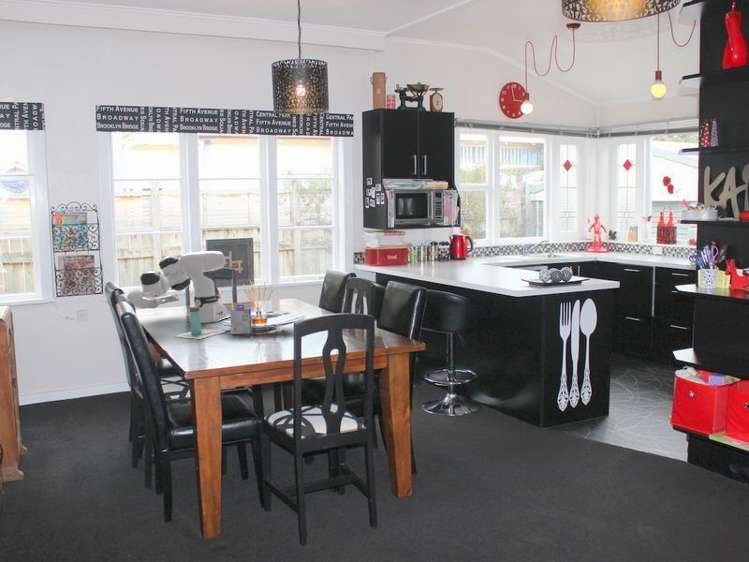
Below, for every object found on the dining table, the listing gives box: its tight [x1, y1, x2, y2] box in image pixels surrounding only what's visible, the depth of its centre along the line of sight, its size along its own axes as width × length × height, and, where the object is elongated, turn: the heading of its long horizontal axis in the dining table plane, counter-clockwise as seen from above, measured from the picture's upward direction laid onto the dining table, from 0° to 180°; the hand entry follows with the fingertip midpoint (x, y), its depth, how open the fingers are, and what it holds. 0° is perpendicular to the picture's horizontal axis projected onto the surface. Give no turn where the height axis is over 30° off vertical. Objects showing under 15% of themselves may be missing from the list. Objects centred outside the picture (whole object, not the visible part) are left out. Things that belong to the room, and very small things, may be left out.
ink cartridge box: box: [229, 304, 253, 335], centre depth 370 cm, size 10×6×14 cm, turn 90°
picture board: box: [174, 328, 226, 340], centre depth 370 cm, size 19×17×1 cm
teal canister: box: [188, 305, 202, 335], centre depth 367 cm, size 5×5×14 cm
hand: (170, 300), depth 372 cm, fingers open, 8 cm apart
